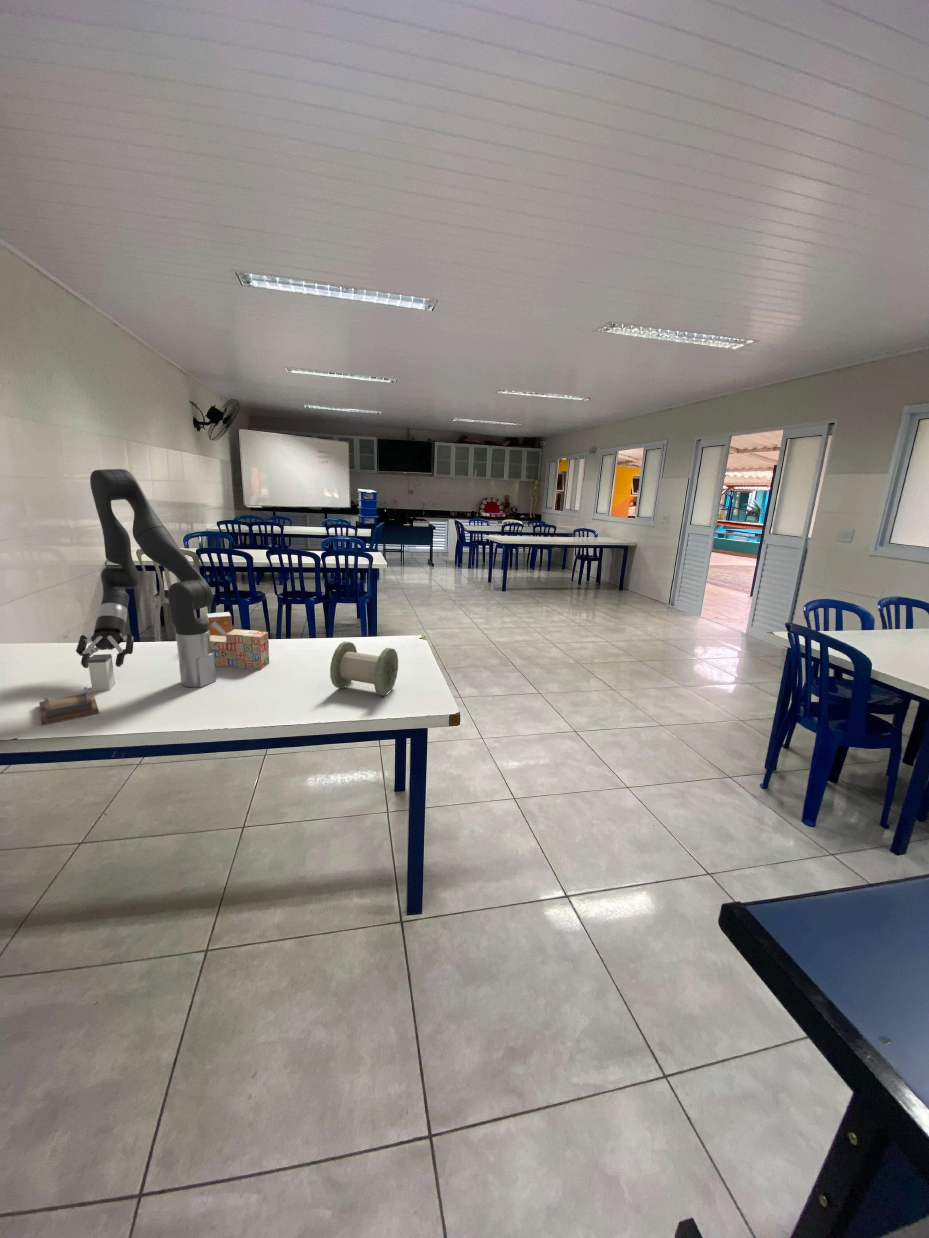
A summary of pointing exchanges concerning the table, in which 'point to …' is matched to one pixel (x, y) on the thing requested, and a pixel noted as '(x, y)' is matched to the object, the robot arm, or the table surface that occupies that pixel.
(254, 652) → the stack of blocks
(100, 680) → the connector plug
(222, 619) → the small box
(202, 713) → the table surface
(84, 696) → the holder board
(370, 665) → the spool
